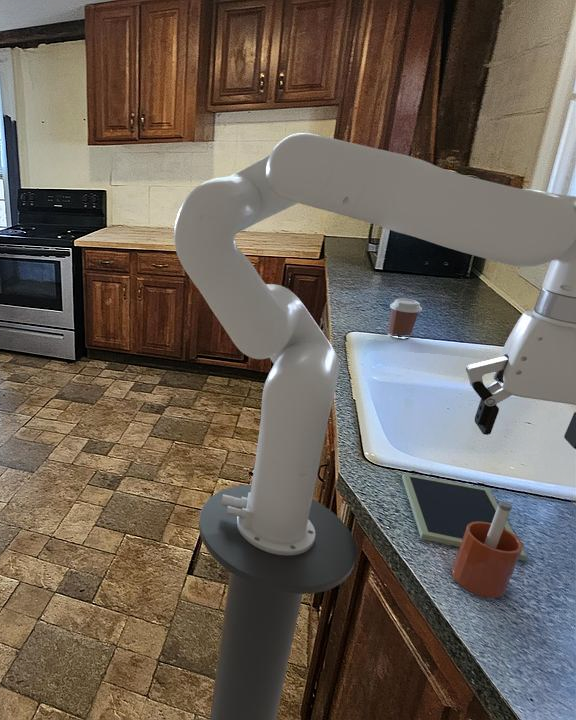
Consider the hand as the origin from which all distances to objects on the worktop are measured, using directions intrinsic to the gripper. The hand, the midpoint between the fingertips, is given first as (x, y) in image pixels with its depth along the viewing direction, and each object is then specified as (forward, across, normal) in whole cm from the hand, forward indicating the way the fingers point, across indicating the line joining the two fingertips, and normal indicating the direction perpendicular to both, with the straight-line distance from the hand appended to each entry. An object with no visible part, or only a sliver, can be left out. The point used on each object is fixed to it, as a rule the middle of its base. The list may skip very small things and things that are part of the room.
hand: (526, 436), depth 67 cm
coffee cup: (+24, -8, -115) cm, 118 cm away
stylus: (+24, -1, 0) cm, 24 cm away
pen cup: (+24, -1, 0) cm, 24 cm away
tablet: (+24, -2, -16) cm, 29 cm away
